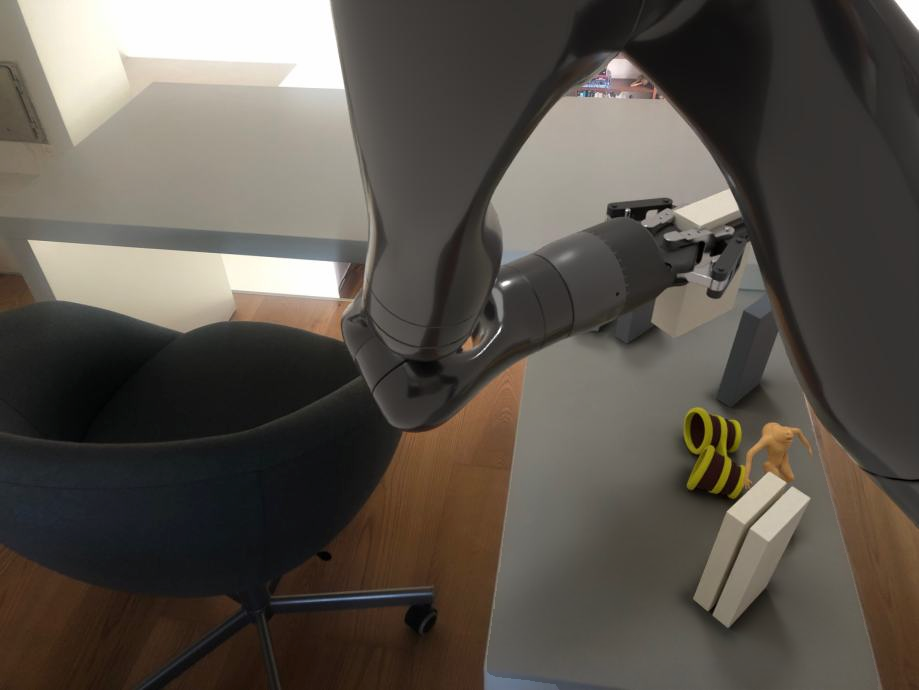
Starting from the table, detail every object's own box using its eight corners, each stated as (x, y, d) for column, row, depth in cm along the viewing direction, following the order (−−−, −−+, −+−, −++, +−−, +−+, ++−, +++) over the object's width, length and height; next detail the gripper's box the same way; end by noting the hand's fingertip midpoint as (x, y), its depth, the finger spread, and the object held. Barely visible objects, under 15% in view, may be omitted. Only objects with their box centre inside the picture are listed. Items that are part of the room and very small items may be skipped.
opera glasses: (732, 511, 69) (755, 482, 66) (681, 497, 70) (701, 467, 66) (724, 439, 77) (744, 410, 73) (677, 427, 77) (695, 397, 73)
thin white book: (732, 309, 67) (765, 198, 60) (674, 338, 64) (700, 225, 56) (708, 294, 69) (737, 185, 62) (650, 322, 66) (673, 210, 58)
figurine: (750, 561, 64) (788, 479, 56) (705, 513, 68) (734, 430, 61) (815, 525, 67) (859, 443, 59) (768, 481, 71) (804, 399, 63)
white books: (766, 586, 62) (811, 498, 54) (727, 628, 59) (769, 542, 51) (731, 560, 64) (769, 470, 56) (692, 599, 61) (726, 511, 53)
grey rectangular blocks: (759, 383, 82) (791, 295, 74) (730, 407, 79) (760, 318, 71) (644, 317, 92) (660, 232, 84) (614, 336, 89) (629, 251, 81)
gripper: (662, 282, 48) (820, 210, 55) (537, 200, 57) (686, 147, 64) (646, 363, 52) (792, 287, 59) (532, 275, 62) (671, 219, 69)
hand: (736, 215), depth 62 cm, fingers closed on thin white book, 3 cm apart
